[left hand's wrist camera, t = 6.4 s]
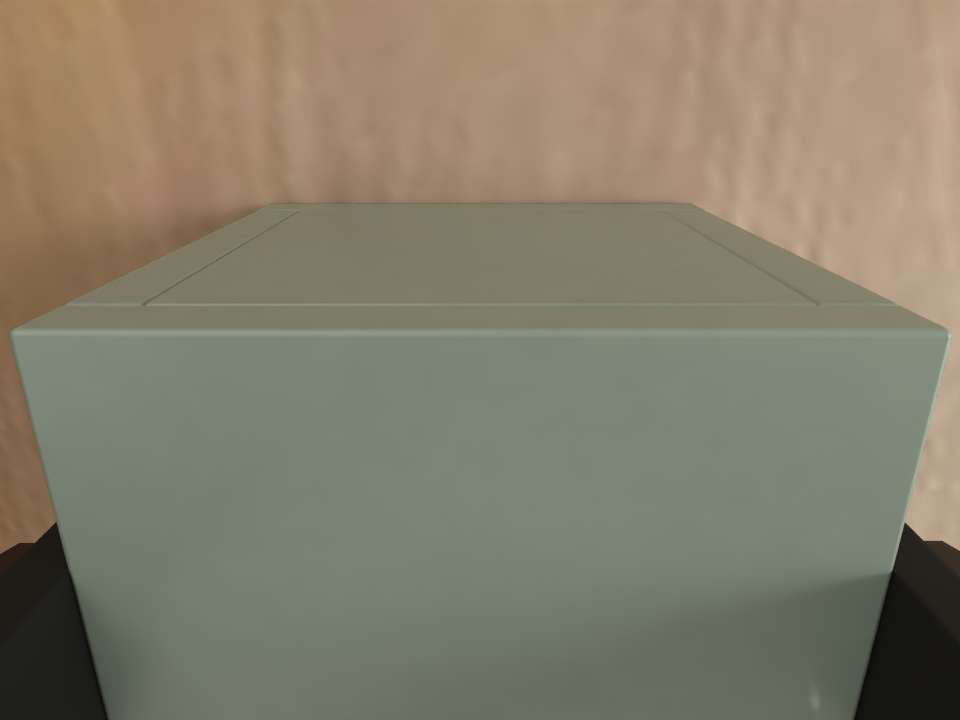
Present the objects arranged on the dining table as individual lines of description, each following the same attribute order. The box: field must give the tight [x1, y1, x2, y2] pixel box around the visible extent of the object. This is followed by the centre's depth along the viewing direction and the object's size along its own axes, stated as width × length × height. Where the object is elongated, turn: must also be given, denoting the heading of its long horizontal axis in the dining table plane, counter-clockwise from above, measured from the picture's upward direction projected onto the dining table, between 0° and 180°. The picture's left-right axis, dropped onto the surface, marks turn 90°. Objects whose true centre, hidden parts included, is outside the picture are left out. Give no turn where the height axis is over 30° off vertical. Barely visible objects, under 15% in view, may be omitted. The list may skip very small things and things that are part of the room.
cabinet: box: [9, 204, 952, 720], centre depth 16 cm, size 21×10×10 cm, turn 0°
